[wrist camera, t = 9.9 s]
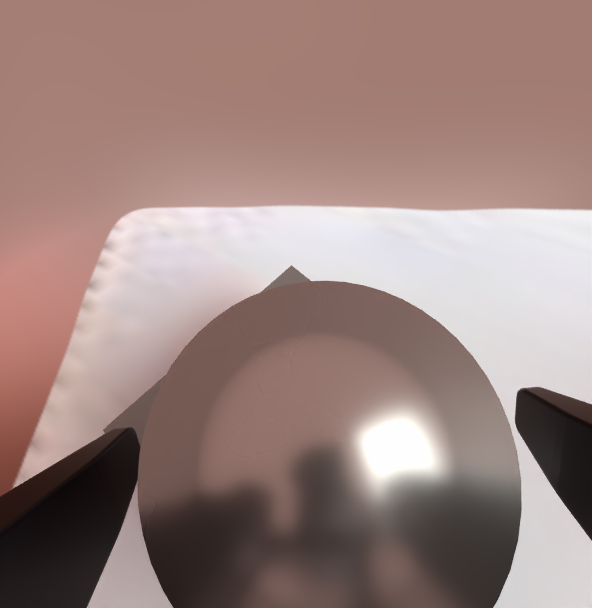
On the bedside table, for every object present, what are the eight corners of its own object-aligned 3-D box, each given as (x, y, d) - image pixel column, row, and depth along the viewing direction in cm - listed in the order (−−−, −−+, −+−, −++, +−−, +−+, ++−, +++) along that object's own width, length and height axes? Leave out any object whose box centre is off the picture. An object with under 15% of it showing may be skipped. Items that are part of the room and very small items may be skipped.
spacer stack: (379, 554, 14) (545, 782, 3) (258, 523, 15) (69, 623, 4) (389, 424, 16) (506, 302, 5) (283, 404, 17) (204, 264, 6)
